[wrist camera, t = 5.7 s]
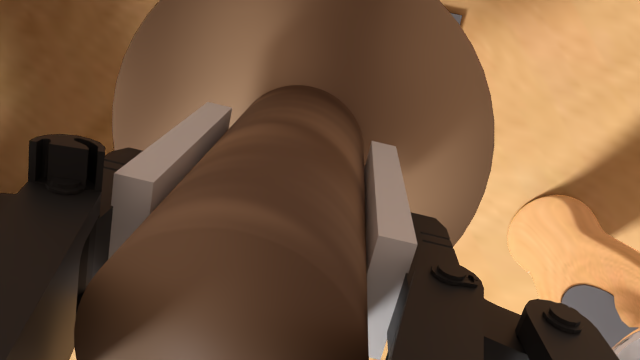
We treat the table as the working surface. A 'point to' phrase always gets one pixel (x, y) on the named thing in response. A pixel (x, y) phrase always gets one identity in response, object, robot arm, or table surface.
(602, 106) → the table surface
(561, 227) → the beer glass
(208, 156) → the lid
